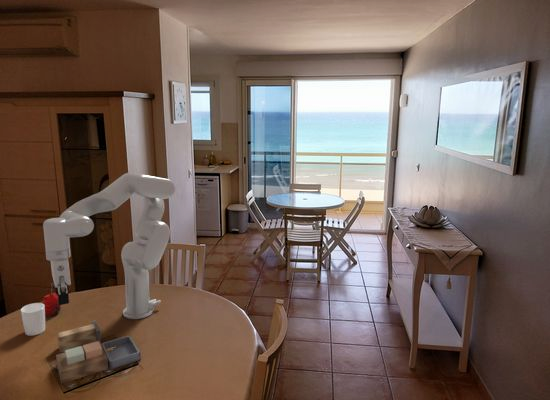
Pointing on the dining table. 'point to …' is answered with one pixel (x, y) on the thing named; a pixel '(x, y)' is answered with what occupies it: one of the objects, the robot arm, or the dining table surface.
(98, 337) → the scraper
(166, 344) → the dining table surface
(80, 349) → the tile sage
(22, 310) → the white cup
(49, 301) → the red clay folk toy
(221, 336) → the dining table surface
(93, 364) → the wooden block
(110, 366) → the tray
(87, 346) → the tile terracotta
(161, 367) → the dining table surface
